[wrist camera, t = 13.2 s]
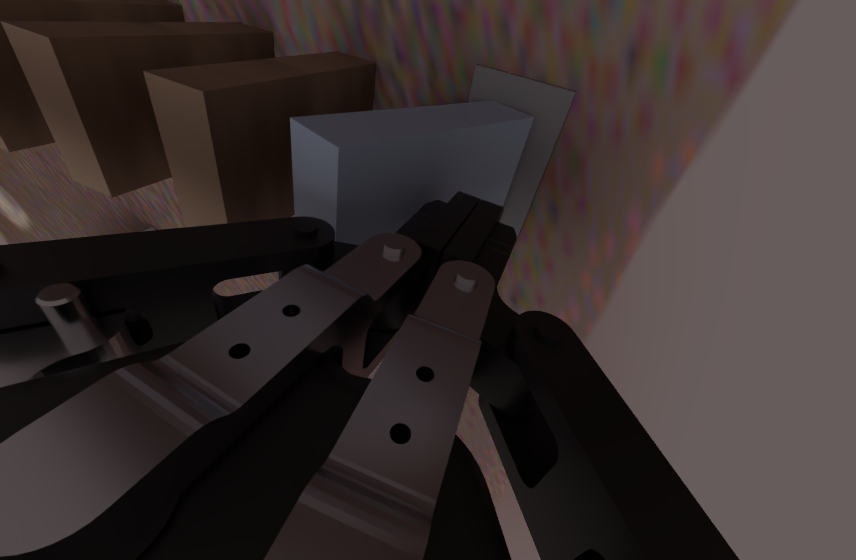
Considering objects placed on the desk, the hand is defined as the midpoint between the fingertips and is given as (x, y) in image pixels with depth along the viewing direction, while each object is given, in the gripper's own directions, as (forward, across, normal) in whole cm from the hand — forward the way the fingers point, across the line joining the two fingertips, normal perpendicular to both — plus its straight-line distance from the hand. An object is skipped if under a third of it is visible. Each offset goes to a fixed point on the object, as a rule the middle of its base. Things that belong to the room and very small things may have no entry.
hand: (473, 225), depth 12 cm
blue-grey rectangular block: (+5, +1, 0) cm, 5 cm away
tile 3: (+6, +14, 0) cm, 15 cm away
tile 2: (+6, +8, 0) cm, 10 cm away
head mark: (+6, +1, 0) cm, 6 cm away
